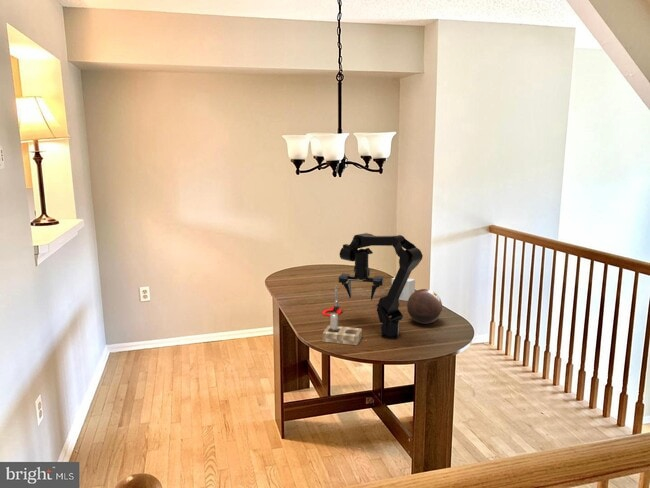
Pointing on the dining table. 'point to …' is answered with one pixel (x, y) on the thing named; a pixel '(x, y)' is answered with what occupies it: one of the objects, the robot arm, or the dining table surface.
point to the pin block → (343, 335)
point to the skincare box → (407, 289)
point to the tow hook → (336, 307)
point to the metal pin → (334, 322)
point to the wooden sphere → (424, 306)
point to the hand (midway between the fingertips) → (361, 298)
